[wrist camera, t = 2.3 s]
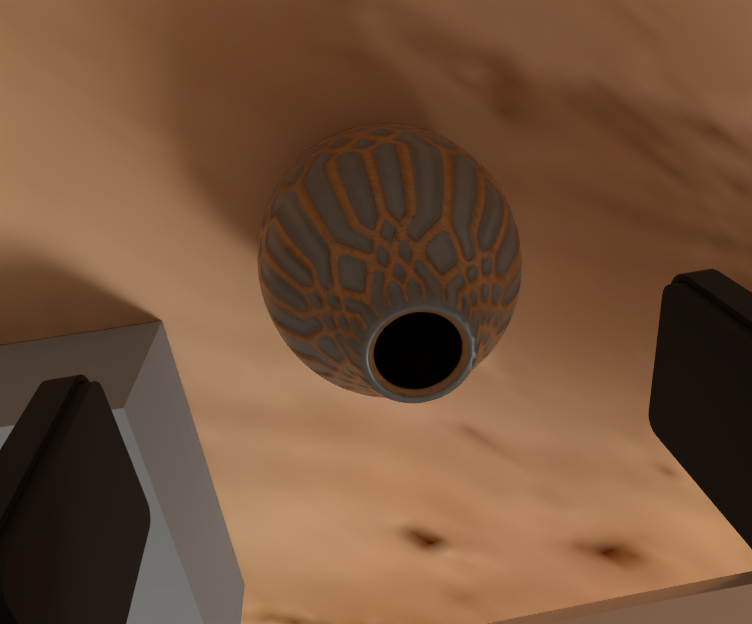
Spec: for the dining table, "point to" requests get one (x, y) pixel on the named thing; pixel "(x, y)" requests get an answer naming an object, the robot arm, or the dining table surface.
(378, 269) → the vase
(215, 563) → the slate block
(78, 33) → the dining table surface
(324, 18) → the dining table surface
